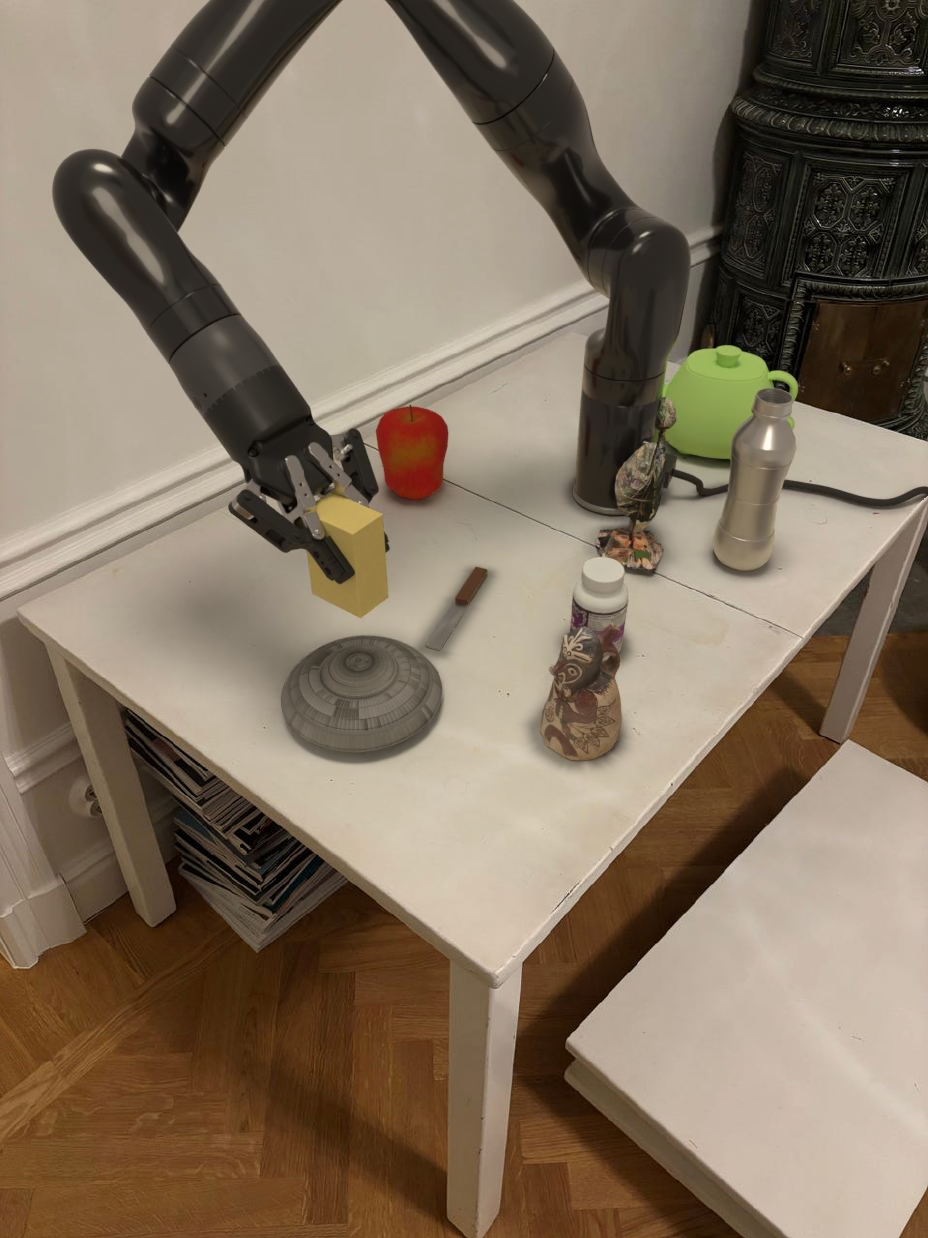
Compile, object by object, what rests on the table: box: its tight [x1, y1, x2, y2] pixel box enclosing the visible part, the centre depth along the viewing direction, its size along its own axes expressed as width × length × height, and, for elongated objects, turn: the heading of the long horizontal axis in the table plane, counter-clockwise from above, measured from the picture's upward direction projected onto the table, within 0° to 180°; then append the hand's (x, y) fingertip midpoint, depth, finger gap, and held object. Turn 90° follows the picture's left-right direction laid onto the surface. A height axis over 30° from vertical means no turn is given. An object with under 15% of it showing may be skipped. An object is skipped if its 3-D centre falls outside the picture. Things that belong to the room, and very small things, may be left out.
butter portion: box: [306, 493, 389, 619], centre depth 78 cm, size 4×6×8 cm, turn 53°
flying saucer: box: [280, 634, 443, 753], centre depth 87 cm, size 15×15×6 cm
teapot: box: [662, 344, 799, 461], centre depth 123 cm, size 22×15×13 cm
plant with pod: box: [595, 396, 677, 574], centre depth 101 cm, size 8×11×20 cm
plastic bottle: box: [712, 387, 797, 572], centre depth 99 cm, size 6×7×20 cm
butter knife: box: [425, 566, 488, 651], centre depth 99 cm, size 14×2×1 cm, turn 158°
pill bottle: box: [569, 556, 630, 661], centre depth 92 cm, size 5×5×10 cm
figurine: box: [539, 623, 623, 761], centre depth 82 cm, size 7×7×12 cm
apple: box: [375, 404, 450, 501], centre depth 114 cm, size 9×8×12 cm
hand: (364, 566), depth 77 cm, fingers closed on butter portion, 3 cm apart
